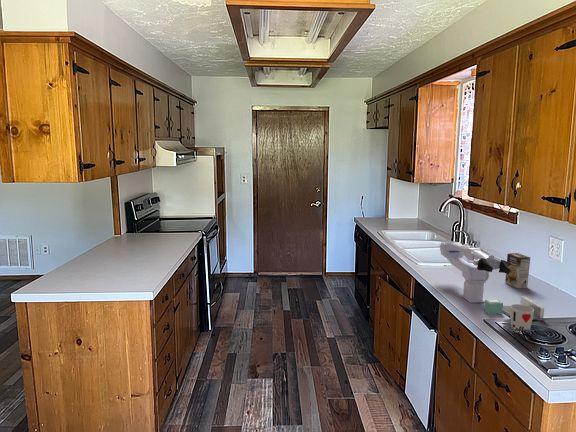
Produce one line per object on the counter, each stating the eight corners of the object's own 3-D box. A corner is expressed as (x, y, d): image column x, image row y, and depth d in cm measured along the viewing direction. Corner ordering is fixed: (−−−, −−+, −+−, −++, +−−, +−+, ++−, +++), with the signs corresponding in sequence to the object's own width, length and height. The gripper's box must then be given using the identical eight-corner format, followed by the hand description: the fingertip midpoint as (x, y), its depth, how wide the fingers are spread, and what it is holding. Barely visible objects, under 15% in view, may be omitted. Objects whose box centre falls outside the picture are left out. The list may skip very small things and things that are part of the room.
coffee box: (504, 283, 225) (506, 253, 222) (514, 282, 226) (517, 252, 223) (517, 288, 216) (520, 257, 213) (528, 287, 217) (530, 256, 215)
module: (484, 310, 189) (485, 299, 188) (497, 310, 189) (498, 299, 188) (488, 314, 185) (489, 302, 184) (502, 314, 185) (503, 302, 184)
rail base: (497, 308, 191) (498, 296, 190) (523, 307, 192) (524, 295, 191) (515, 321, 177) (516, 308, 176) (543, 320, 178) (544, 307, 177)
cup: (507, 333, 166) (509, 309, 165) (509, 326, 173) (511, 302, 171) (530, 338, 162) (533, 313, 160) (532, 330, 168) (534, 306, 167)
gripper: (470, 250, 191) (486, 260, 178) (501, 253, 192) (519, 263, 179) (467, 265, 192) (482, 275, 179) (497, 268, 193) (514, 279, 180)
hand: (500, 270), depth 179 cm, fingers open, 7 cm apart
